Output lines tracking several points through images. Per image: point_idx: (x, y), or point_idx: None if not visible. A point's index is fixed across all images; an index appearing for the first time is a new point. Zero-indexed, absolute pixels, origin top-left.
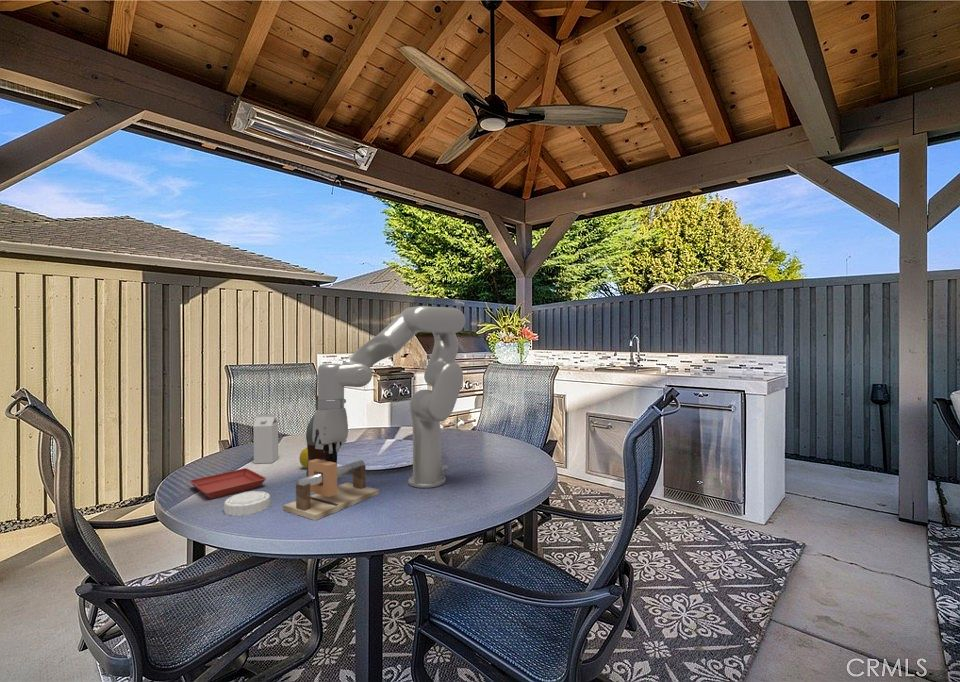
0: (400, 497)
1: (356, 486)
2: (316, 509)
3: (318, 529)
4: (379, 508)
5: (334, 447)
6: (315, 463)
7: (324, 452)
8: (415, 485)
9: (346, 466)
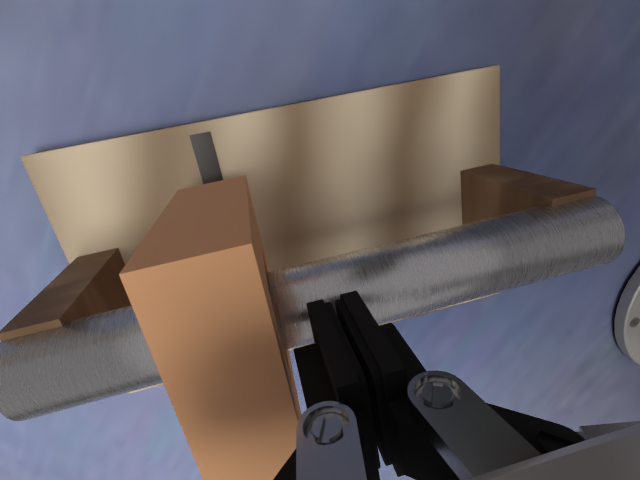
0: (503, 367)
1: (465, 198)
2: None
3: (113, 452)
4: None
5: (449, 475)
6: (167, 380)
7: (305, 415)
8: (619, 323)
9: (458, 299)
